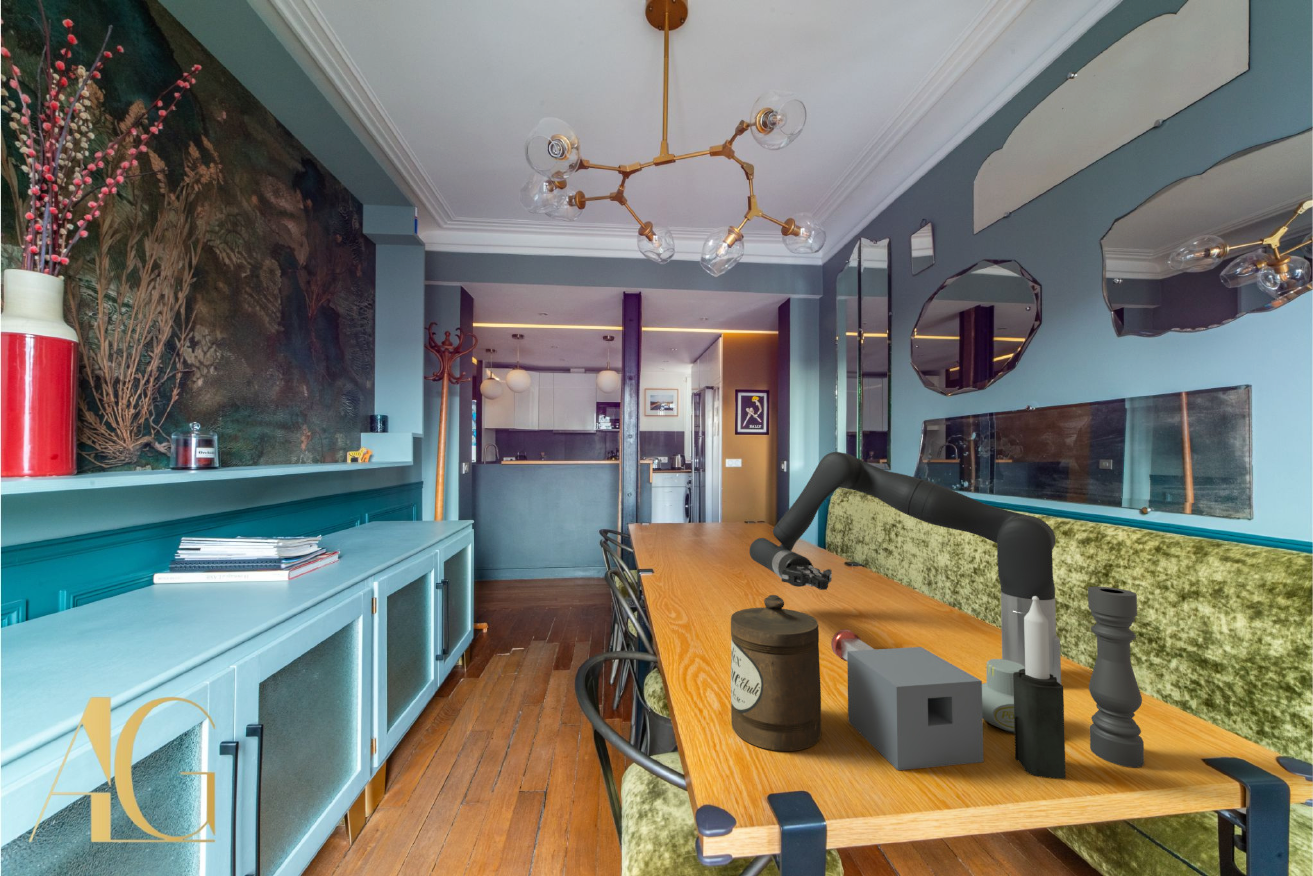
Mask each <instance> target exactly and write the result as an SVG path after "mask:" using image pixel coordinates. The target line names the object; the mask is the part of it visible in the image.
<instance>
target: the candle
mask: <svg viewBox="0 0 1313 876" xmlns="http://www.w3.org/2000/svg"><path fill="white" fill-rule="evenodd" d="M1032 600H1033V602H1032V605H1031V608H1030V610H1029V612H1028V613H1027V614H1026V616H1025V617H1024V637H1025V669H1020V670H1019V672H1014V673H1013V686H1014V730H1015V733H1014V758H1015V760H1016V761H1018V762H1019V764H1020V765H1021V766H1022V767H1023V769H1024V772H1025V773H1027V774H1029V775H1032V776H1034V777H1039V776H1040V777H1041V776H1042V777H1041V778H1048V779H1049V777H1051V779H1057V778H1064V779H1066V743H1065V741H1066V739H1065V736H1066V735H1065V706H1064V705H1065V703H1064V702H1065V701H1064V699H1065V698H1064V686H1063V685H1062V683H1061V684H1060V683H1058V682H1057V678H1056V677H1053V675H1052V674H1050V671H1049V631H1048V620H1047V619H1046V617H1045V616H1044V615H1043V613H1042V611H1041V608H1040V605H1039V602H1038V601H1039V598H1038V597H1037V596H1033V597H1032Z"/></svg>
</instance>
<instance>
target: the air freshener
mask: <svg viewBox="0 0 1313 876" xmlns="http://www.w3.org/2000/svg"><path fill="white" fill-rule="evenodd" d="M1020 669H1025V667H1024V666H1023V665H1021V664H1019V663H1016V662H1013V661H1009V660H1004V659H1002V658H991V659H989V660H987V662H986V682H984V683H982V716H983V720H984V721H986V722H987V723H989V724H991V725H992V726H994V727H996V728H999V729H1001V730H1004V731H1006V732H1009V733H1014V734H1015V730H1014V686H1013V673H1014V672H1019V670H1020Z"/></svg>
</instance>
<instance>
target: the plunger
mask: <svg viewBox="0 0 1313 876" xmlns="http://www.w3.org/2000/svg"><path fill="white" fill-rule="evenodd" d="M830 645H831V649H832V652H833V653H834V654H835V655H836V656H837V657H838V658H840V660H842V661H844V662H847V651H859V650H876V649H875V648H873V647H872V646H870V645H869V644H867V643H866V642H864V641H862V639H861V638H860V637H859V636H858V634H856V633H854V632H853V631H852V630H850V629H841V630H838V631H837V632H835V634H834V635H833V636H832V638H831V641H830Z"/></svg>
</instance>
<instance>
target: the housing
mask: <svg viewBox="0 0 1313 876" xmlns="http://www.w3.org/2000/svg"><path fill="white" fill-rule="evenodd" d="M846 662H847V722H848V723H849V725H851V726H852V727H853V728H854V729H855V730H856V731H857V732H858V733H859V734H860V735H861V736H862V737H863V738H864V739H865V740H866V741H867V742H868V743H869V744H870V745H871V746H873V748H874V749H875V750H877V752H878V753H879V754H881V756H882V757H883V758H885V759H886V761H888V762H889V763H890V764H891V765H892V766H893V767H894V768H895V769H896V770H897V771H905V770H914V769H924V768H925V769H926V768H935V767H936V768H937V767H947V766H957V765H958V766H959V765H966V764H977V763H979V764H980V763H984V733H983V732H984V726H983V725H984V724H983V723H984V722H983V720H984V719H983V716H982V684H983V681H982V680H981V679H979V678H978V677H976V676H974V675H972V674H971V673H968V672H967V671H966V670H963V669H962V668H959V667H958V666H956V665H955V664H953V663H951V662H949V661H947V660H945V659H943V658H942V657H940V656H938V655H936V654H935V653H933V652H931V651H930V650H928V649H925V647H921V646H916V647H915V646H913V647H912V646H911V647H897V648H895V647H894V648H881V649H879V648H878V649H875V650H859V651H847V661H846Z"/></svg>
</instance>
